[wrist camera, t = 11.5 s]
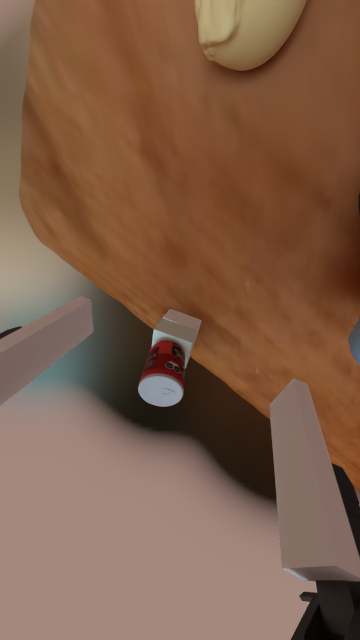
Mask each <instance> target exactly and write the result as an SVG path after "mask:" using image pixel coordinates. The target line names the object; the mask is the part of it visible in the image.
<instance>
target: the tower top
mask: <svg viewBox="0 0 360 640" xmlns="http://www.w3.org/2000/svg"><path fill="white" fill-rule="evenodd" d="M197 331H198V330H196V329H193V328H190V327H187V326H184V325H181V324H178V323H176V322H173V321H170V320H167V319H164V318H162V320H161V321H160V322H159V323H158V325H157V326H156V327H155V328H154V332H153V340H152V347H153V346H154V345H155V344H156V343H158V342H160V341H164V340H169V341H173V342H176V343H178V344H179V345H180V346H181V347H182V348H183V350H184V352H185V367H186V365H187V363H188V360H189V358H190V355H191V352H192V348H193V345H194V341H195V338H196V334H197Z"/></svg>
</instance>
